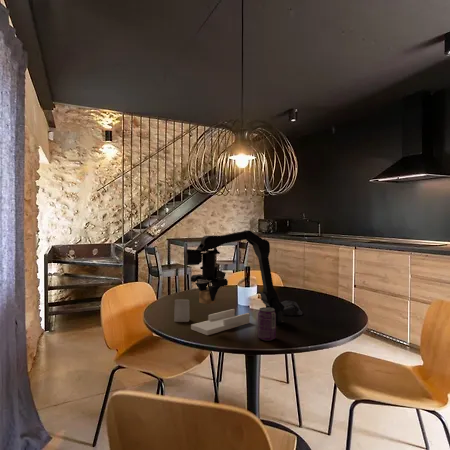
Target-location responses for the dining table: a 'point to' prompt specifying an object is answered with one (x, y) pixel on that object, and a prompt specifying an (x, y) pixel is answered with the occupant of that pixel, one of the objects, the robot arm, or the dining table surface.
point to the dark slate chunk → (291, 308)
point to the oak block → (205, 297)
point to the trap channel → (221, 322)
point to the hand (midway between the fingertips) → (208, 300)
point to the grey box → (181, 311)
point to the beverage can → (267, 324)
